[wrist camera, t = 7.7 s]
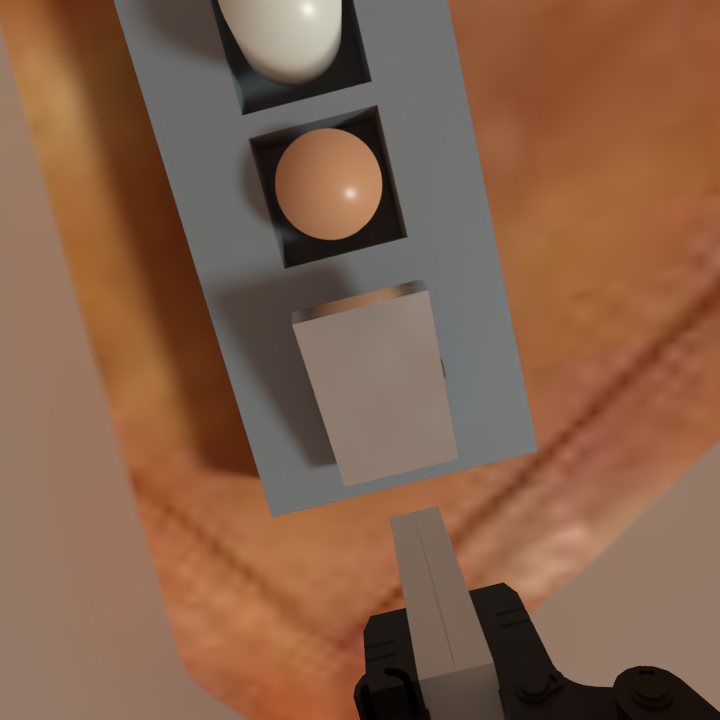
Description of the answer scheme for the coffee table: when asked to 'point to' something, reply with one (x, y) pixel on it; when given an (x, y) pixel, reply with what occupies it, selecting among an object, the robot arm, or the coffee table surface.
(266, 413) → the grey slotted block
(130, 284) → the coffee table surface
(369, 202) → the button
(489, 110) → the coffee table surface
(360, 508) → the coffee table surface
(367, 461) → the block
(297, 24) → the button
